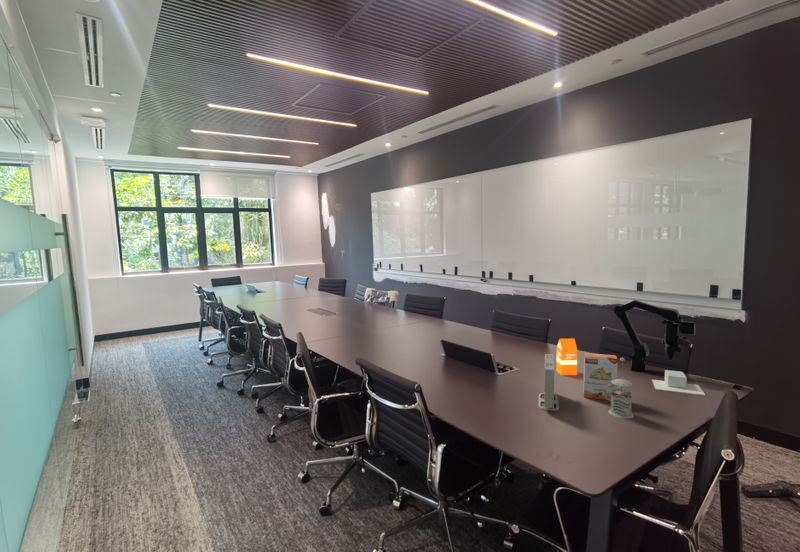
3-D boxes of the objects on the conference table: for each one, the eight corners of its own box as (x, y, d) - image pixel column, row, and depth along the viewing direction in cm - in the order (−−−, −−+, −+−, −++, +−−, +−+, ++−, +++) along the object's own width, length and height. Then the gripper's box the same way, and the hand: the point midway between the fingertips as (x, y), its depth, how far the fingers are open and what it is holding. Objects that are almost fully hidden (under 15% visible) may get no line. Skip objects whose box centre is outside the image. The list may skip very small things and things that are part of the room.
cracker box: (583, 397, 188) (584, 355, 186) (583, 393, 194) (583, 352, 192) (616, 401, 183) (618, 358, 181) (614, 396, 188) (616, 354, 187)
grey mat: (656, 389, 196) (656, 388, 196) (651, 380, 209) (651, 379, 209) (705, 395, 187) (705, 394, 187) (697, 385, 200) (697, 384, 200)
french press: (633, 420, 164) (635, 362, 162) (602, 414, 170) (603, 358, 168) (634, 411, 172) (635, 356, 170) (604, 406, 178) (605, 352, 176)
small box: (664, 379, 208) (667, 386, 199) (664, 369, 208) (667, 375, 198) (682, 382, 205) (686, 388, 195) (682, 371, 204) (687, 377, 195)
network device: (559, 414, 171) (559, 370, 169) (538, 411, 174) (538, 368, 172) (557, 393, 195) (557, 353, 193) (538, 391, 198) (539, 352, 196)
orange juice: (577, 375, 220) (577, 340, 218) (561, 375, 220) (561, 340, 218) (571, 370, 228) (571, 336, 226) (556, 370, 228) (556, 337, 226)
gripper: (693, 337, 201) (692, 367, 203) (686, 329, 218) (684, 357, 219) (667, 335, 206) (666, 364, 208) (662, 328, 223) (661, 354, 224)
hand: (670, 360), depth 215 cm, fingers closed
